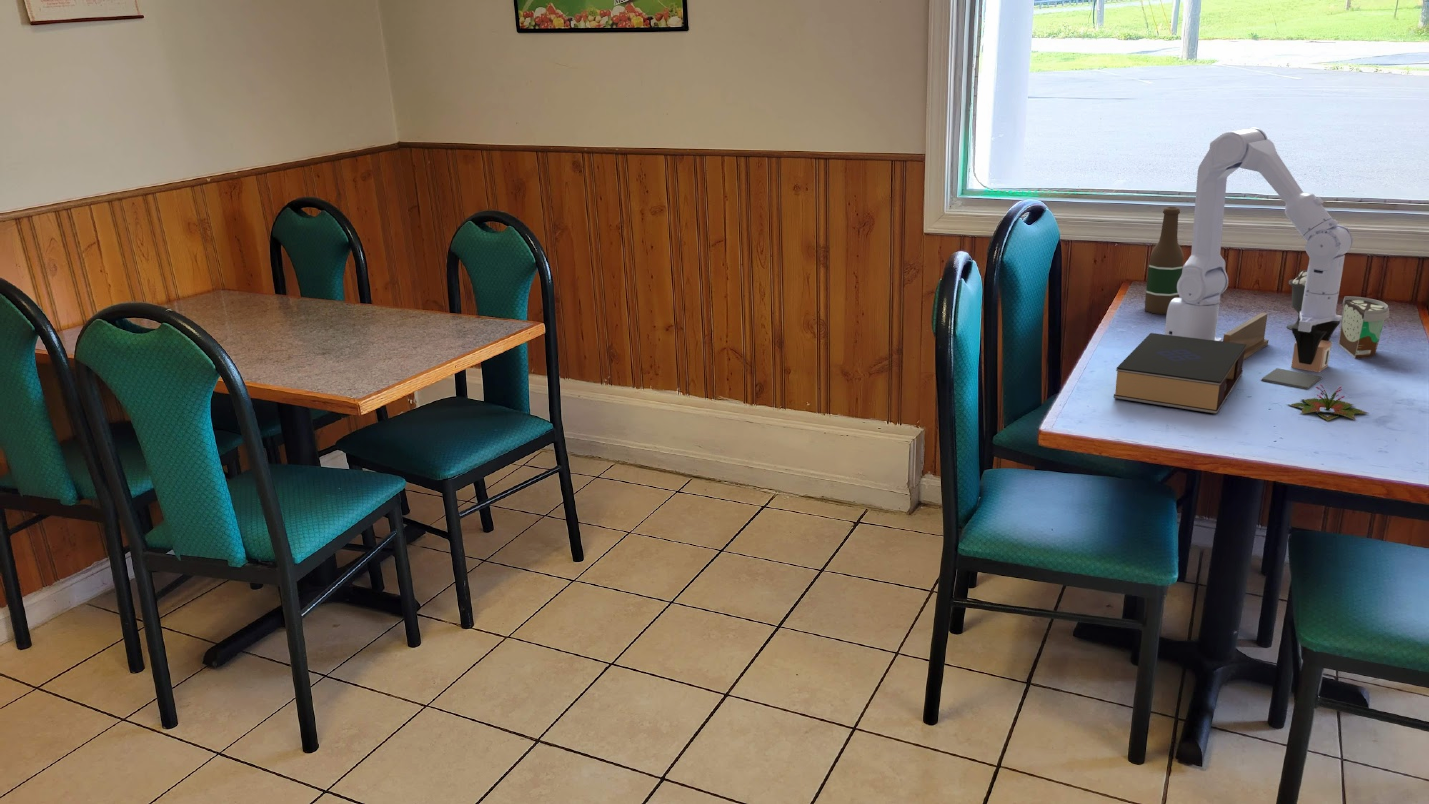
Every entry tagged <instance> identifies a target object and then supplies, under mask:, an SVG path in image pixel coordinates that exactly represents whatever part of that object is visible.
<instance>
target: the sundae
mask: <svg viewBox="0 0 1429 804" xmlns="http://www.w3.org/2000/svg"><path fill="white" fill-rule="evenodd" d="M1307 271H1308V269H1304V270H1302V269H1300V270H1299V272H1298V274H1297V277H1295V279H1290V280H1288V285H1290V286H1291V302H1292V303H1291V304H1292V308H1293V309H1294V310H1295V311H1296V312H1297V313H1298V315H1297V320H1296V322H1294V323H1293V324H1292V323H1291V324H1287V325H1286V328H1287V329H1288V330H1291V331H1292V327H1293V326H1295V325H1298V326H1299V321H1300V317H1299V315H1300V311H1301V309H1302V303H1303V296H1304V290H1305V284H1306V277H1307Z"/></svg>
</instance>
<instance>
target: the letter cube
mask: <svg viewBox="0 0 1429 804" xmlns="http://www.w3.org/2000/svg"><path fill="white" fill-rule="evenodd" d="M1332 344H1333V342H1332V341H1330V340H1329V341H1325V340H1321V341H1320V343H1319V346H1318V348H1317V351H1316V354H1315V357H1314V360H1313V362H1312V364H1311V365H1309V364H1304V363H1299V359H1298V349H1297V343H1296V342H1294V346H1293V353H1292V360H1291V366H1290V368H1294V369H1297V370H1299V369H1300V370H1303V371H1304V370H1305V371H1309V372H1310V371H1311V372H1315V373H1320V372H1322V371H1323V370H1324V369H1326V368H1328V366H1329V360H1330V356H1331V355H1330V354H1331V349H1332V348H1331V347H1332Z"/></svg>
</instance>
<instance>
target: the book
mask: <svg viewBox="0 0 1429 804" xmlns="http://www.w3.org/2000/svg"><path fill="white" fill-rule="evenodd" d="M1164 334H1165V333H1164ZM1164 334H1163V333H1162V334H1161V333H1154V332H1150V333H1149V334H1148V335H1147V336H1146V337H1145V338H1144V339H1143V340H1142V341H1141V342H1140V343H1139V344H1138V345H1137V346H1136V348H1134V350H1132V351H1131V352H1130V353H1129V354H1128V355H1127V357H1125V358H1124V359H1123V360H1122V361H1121V363H1120V364H1118V365H1117V366H1116V369H1115V371H1116V382H1115V393H1114V394H1113V399H1117V400H1124V401H1131V402H1137V403H1143V404H1150V405H1157V406H1163V407H1170V408H1175V409H1184V410H1188V411H1195V412H1196V411H1197V412H1201V413H1207V414H1209V413H1210V414H1214V415H1217V414H1218V412H1219V411H1220V409H1221V408H1222V406H1223V404H1224V403H1225V401H1226V400H1227V398H1228V397H1229V395H1230V394H1231V392H1232V390H1233V389H1234V387H1235V386H1236V384H1237V382H1238V381H1239V379H1240V378H1241V376H1242V375H1243V371H1244V370H1243V367H1244V360H1245V359H1244V352H1245V348H1246V344H1240V343H1232V342H1223V340H1222V341H1215V340H1206V339H1198V338H1190V337H1181V336H1173V335H1164ZM1243 359H1244V360H1243Z"/></svg>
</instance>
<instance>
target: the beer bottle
mask: <svg viewBox="0 0 1429 804" xmlns="http://www.w3.org/2000/svg"><path fill="white" fill-rule="evenodd" d="M1162 214H1163V219H1162V225H1161V232H1160V237H1159V240H1158V242H1157V243H1156V244H1155V246H1154V247H1153V249H1152V251H1151V253H1150V256H1149V257H1150V258H1149V262H1148V269H1147V279H1146V280H1147V281H1146V287H1145V288H1146V289H1145V299H1144V300H1145V301H1144V312H1148V313H1150V314H1151V313H1152V314H1153V315H1154V314H1155V315H1167V310H1168V306H1169V304H1170V302H1171V300H1172V299H1173V298H1180V296H1179V294H1178V292H1177V283H1178V280H1179V279H1180V277H1181V275H1182V271H1183V266H1184V253H1183V250H1182V248H1181V246H1180V244H1179V243H1178V241H1179V240H1178V230H1179V229H1178V228H1179V227H1178V226H1179V214H1181V209H1180V207H1178V206H1166V207H1164V208H1163V211H1162Z"/></svg>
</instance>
